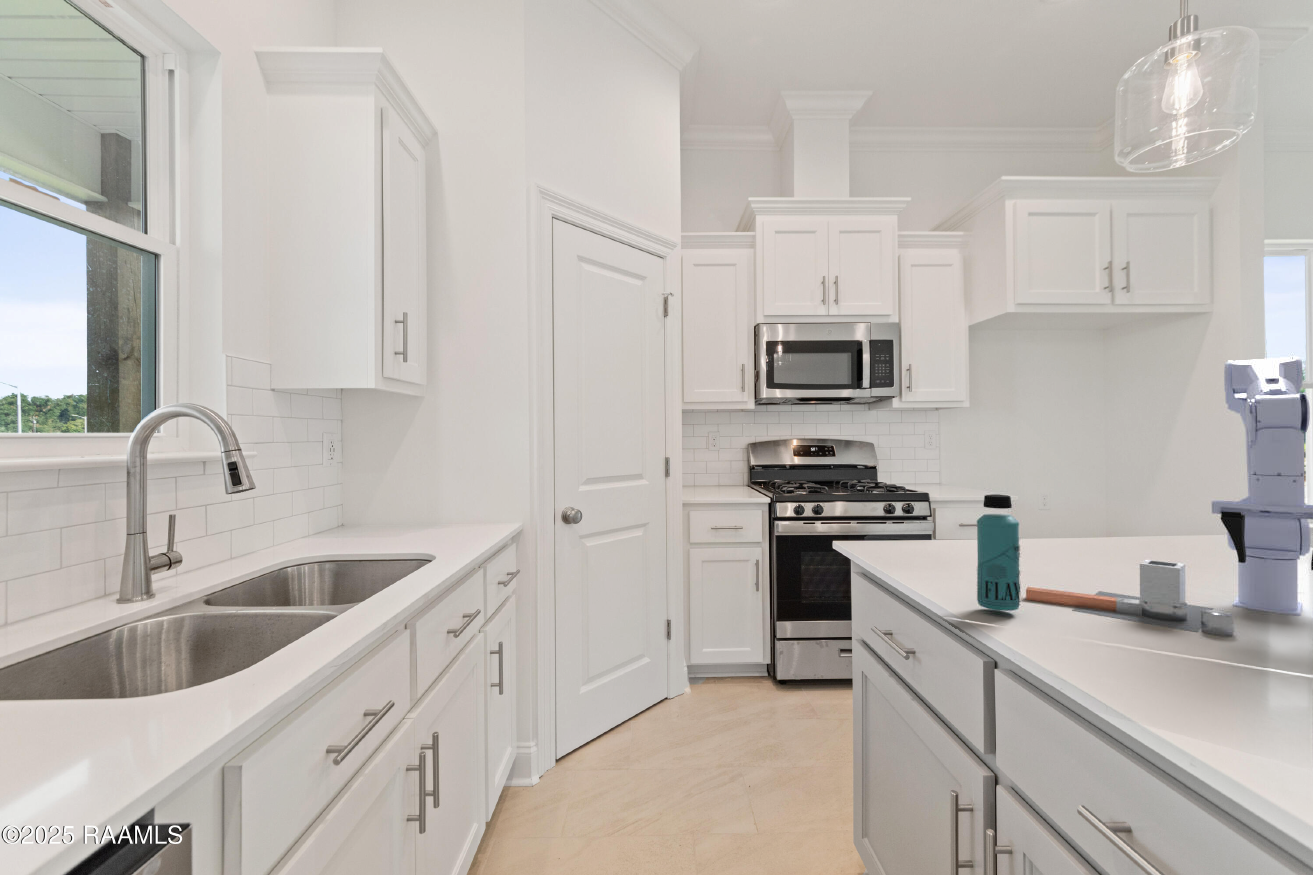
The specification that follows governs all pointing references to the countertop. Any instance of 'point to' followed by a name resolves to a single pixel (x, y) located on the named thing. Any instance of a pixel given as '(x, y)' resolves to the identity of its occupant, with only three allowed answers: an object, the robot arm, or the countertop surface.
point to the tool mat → (1189, 625)
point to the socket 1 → (1162, 582)
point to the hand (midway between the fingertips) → (1277, 565)
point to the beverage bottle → (998, 557)
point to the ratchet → (1110, 604)
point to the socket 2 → (1217, 623)
